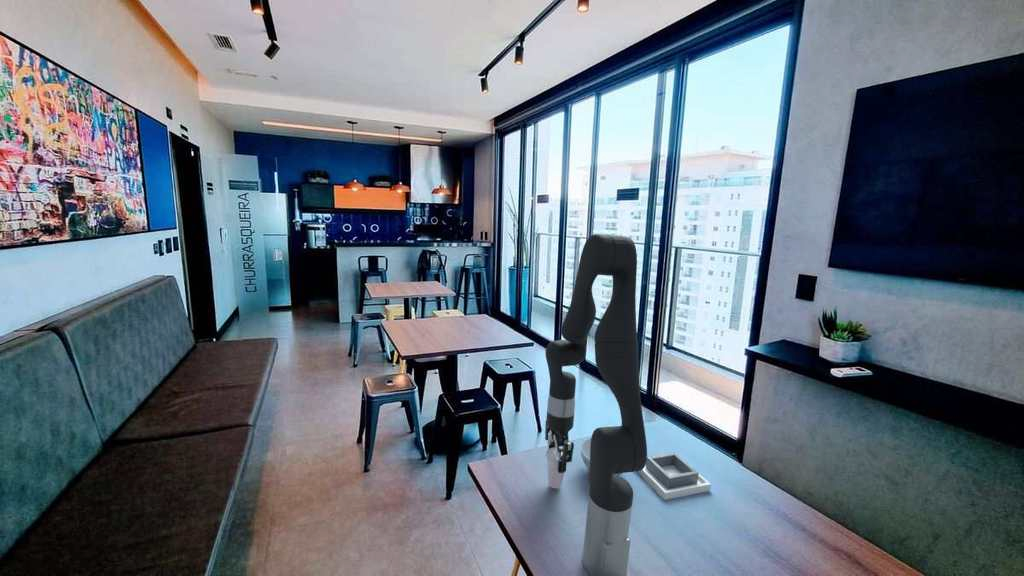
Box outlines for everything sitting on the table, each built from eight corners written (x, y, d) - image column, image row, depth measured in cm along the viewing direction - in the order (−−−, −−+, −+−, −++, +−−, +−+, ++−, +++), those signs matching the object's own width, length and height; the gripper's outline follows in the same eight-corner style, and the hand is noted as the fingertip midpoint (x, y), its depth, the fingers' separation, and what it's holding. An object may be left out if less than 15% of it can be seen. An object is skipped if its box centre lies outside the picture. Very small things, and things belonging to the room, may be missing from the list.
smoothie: (541, 488, 114) (544, 442, 112) (546, 474, 120) (550, 431, 118) (563, 494, 112) (567, 447, 110) (568, 480, 118) (572, 436, 116)
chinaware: (624, 461, 130) (626, 439, 129) (632, 493, 116) (635, 469, 114) (577, 456, 132) (579, 435, 130) (579, 487, 117) (582, 463, 116)
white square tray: (710, 490, 118) (712, 476, 118) (664, 500, 114) (666, 485, 113) (675, 460, 132) (677, 447, 132) (633, 467, 128) (634, 454, 127)
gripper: (585, 421, 106) (580, 478, 109) (562, 397, 120) (558, 448, 123) (559, 424, 104) (554, 482, 107) (538, 399, 118) (535, 452, 120)
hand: (556, 464), depth 115 cm, fingers closed on smoothie, 6 cm apart
